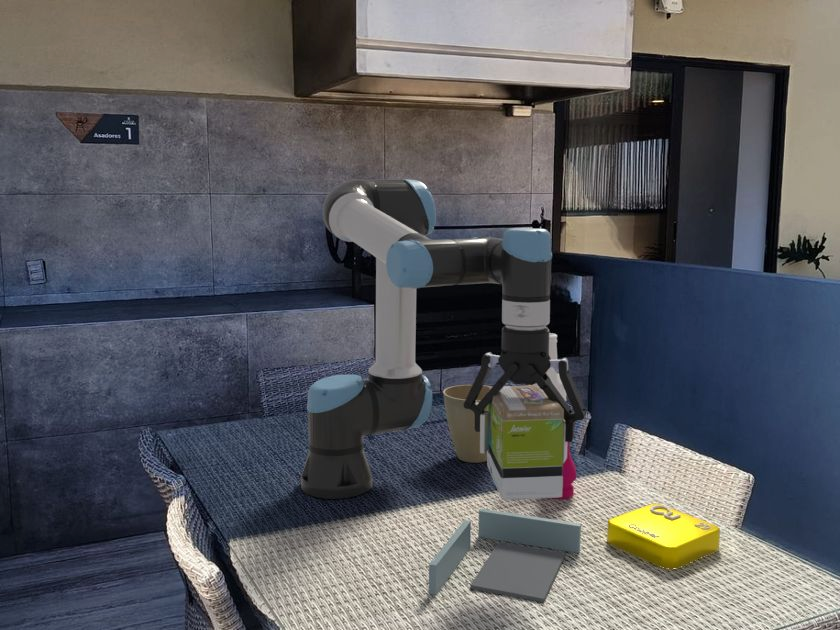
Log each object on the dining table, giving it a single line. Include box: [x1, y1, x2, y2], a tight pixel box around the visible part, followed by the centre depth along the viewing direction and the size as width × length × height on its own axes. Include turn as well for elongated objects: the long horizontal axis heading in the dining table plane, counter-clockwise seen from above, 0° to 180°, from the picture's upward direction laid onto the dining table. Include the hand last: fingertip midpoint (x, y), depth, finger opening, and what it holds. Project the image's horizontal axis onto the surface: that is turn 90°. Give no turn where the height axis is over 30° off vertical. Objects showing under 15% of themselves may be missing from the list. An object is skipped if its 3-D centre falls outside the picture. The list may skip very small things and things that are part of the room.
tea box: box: [486, 384, 564, 501], centre depth 133 cm, size 15×10×15 cm
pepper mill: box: [553, 442, 577, 500], centre depth 169 cm, size 7×7×20 cm
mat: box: [469, 541, 566, 603], centre depth 137 cm, size 12×17×1 cm
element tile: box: [606, 502, 721, 570], centre depth 147 cm, size 15×15×5 cm
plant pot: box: [442, 384, 492, 464], centre depth 191 cm, size 15×15×16 cm
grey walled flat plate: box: [428, 508, 582, 596], centre depth 136 cm, size 20×24×5 cm
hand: (523, 455), depth 133 cm, fingers closed on tea box, 12 cm apart
